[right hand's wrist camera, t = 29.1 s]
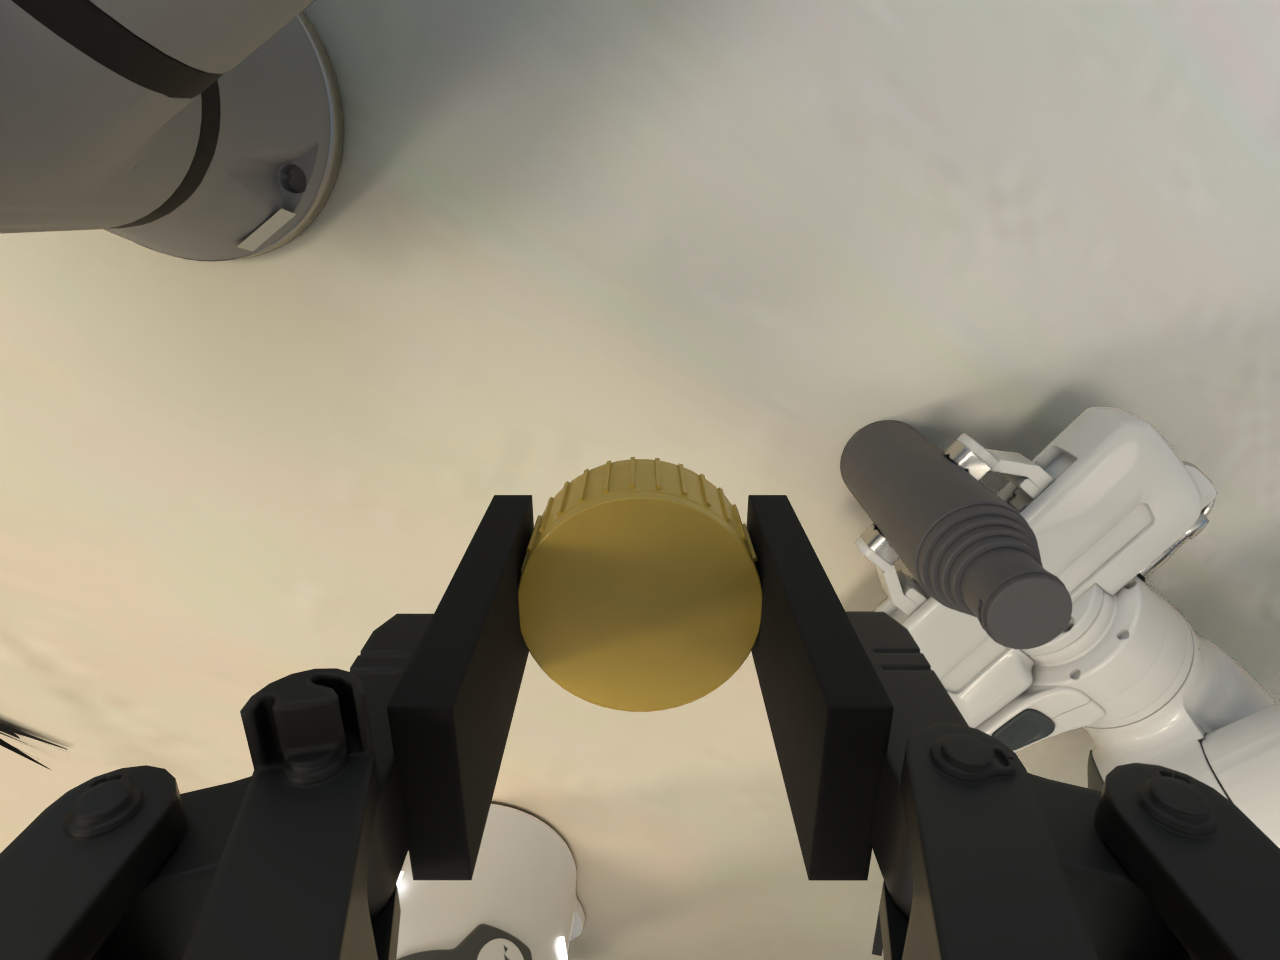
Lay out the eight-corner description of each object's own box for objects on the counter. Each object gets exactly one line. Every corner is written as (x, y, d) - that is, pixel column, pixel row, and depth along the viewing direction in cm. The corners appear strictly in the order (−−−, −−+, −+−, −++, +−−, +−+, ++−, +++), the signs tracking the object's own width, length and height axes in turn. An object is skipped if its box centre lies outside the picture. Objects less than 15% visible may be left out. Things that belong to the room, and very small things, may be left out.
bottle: (828, 490, 45) (939, 657, 28) (857, 411, 43) (994, 538, 26) (907, 509, 46) (1063, 684, 29) (939, 431, 44) (1126, 569, 27)
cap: (790, 586, 15) (812, 641, 13) (611, 686, 16) (607, 751, 14) (674, 411, 14) (679, 444, 12) (485, 531, 14) (461, 580, 13)
